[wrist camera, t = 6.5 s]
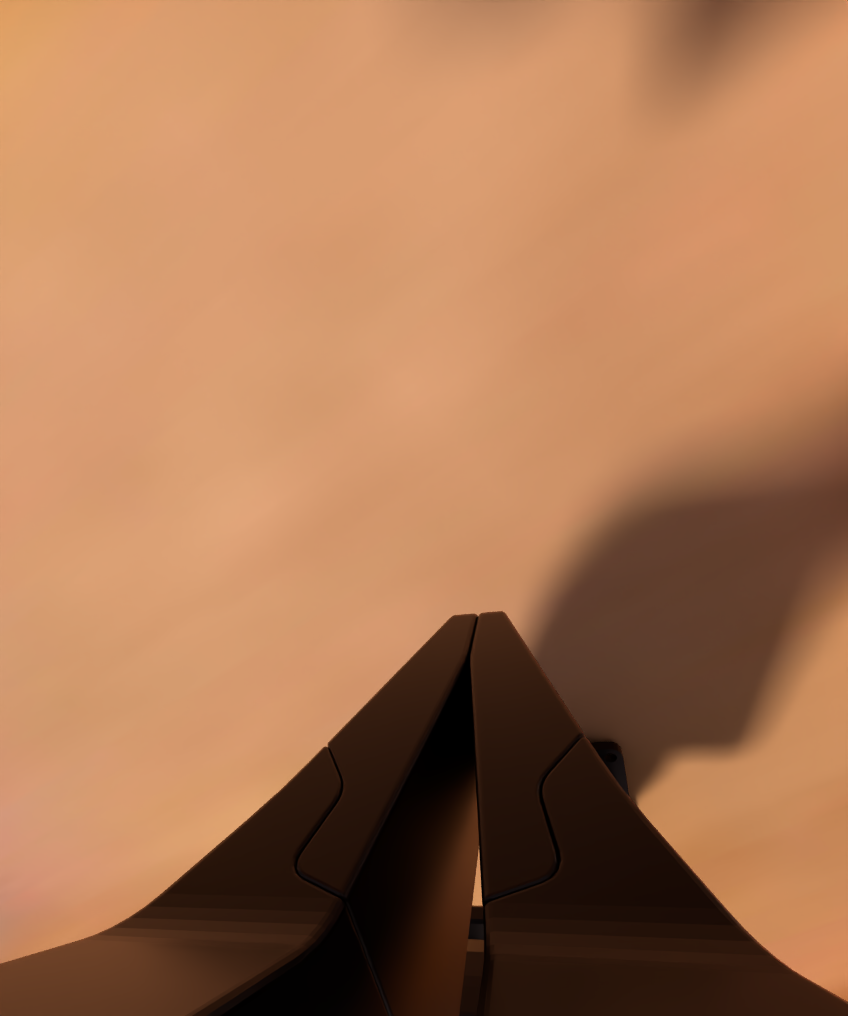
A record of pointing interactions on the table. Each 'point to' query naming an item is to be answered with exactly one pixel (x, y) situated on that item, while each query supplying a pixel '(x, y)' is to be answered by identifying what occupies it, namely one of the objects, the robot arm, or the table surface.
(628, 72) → the table surface
